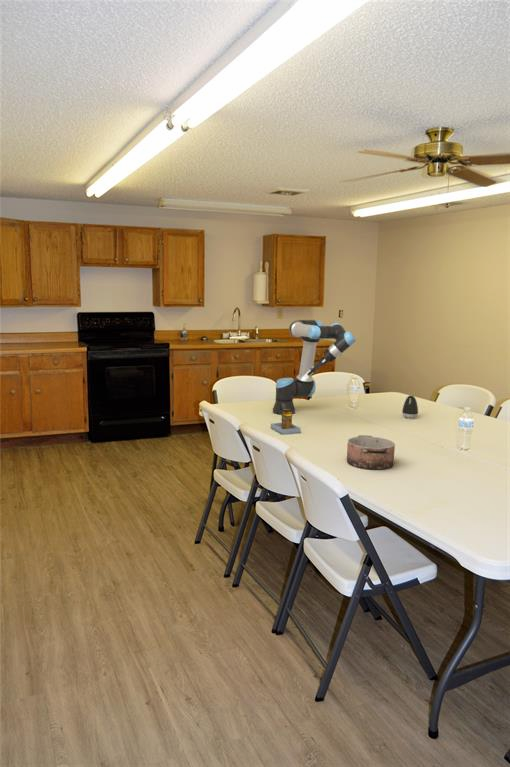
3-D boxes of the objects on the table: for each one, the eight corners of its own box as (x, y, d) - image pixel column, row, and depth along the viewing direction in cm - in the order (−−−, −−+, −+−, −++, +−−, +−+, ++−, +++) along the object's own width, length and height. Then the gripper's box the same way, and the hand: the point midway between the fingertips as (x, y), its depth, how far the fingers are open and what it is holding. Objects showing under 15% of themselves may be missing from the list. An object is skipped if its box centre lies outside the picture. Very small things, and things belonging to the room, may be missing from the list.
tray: (288, 427, 352) (288, 422, 351) (300, 433, 337) (300, 428, 336) (270, 428, 347) (270, 423, 347) (281, 434, 332) (281, 429, 332)
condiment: (294, 429, 341) (295, 409, 339) (282, 431, 336) (283, 411, 334) (287, 427, 347) (287, 407, 345) (275, 428, 342) (276, 408, 340)
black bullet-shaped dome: (416, 416, 391) (417, 394, 389) (418, 419, 381) (420, 397, 379) (400, 415, 392) (402, 393, 390) (403, 419, 382) (404, 396, 380)
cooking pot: (341, 454, 295) (342, 434, 294) (385, 455, 296) (386, 434, 294) (353, 472, 266) (354, 450, 264) (401, 473, 266) (402, 450, 265)
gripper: (334, 360, 325) (306, 384, 331) (338, 355, 349) (312, 378, 355) (325, 350, 326) (298, 375, 332) (330, 345, 350) (304, 368, 356)
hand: (305, 376), depth 344 cm, fingers open, 13 cm apart
